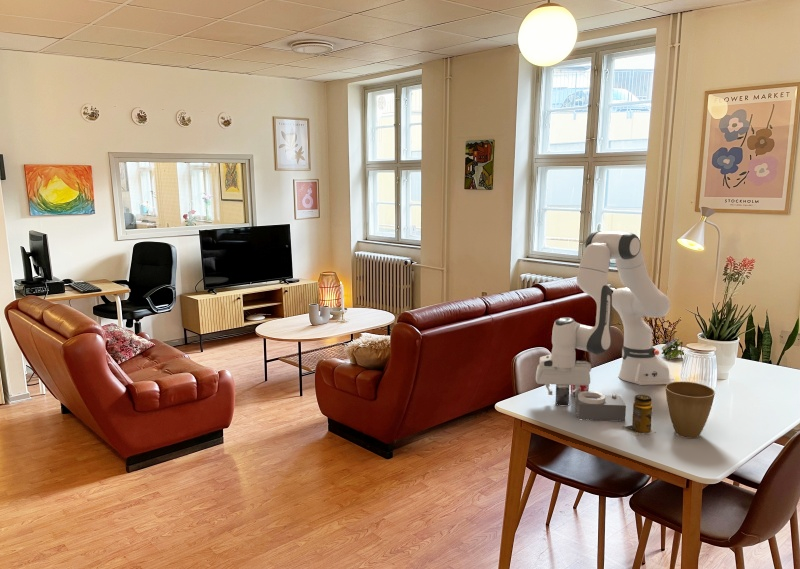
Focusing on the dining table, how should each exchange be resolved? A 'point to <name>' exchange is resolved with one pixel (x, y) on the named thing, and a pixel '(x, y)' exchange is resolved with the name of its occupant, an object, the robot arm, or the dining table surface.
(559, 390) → the lens
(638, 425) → the condiment
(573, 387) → the soda can
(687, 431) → the plant pot
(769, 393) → the dining table surface
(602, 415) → the camera body
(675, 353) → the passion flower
